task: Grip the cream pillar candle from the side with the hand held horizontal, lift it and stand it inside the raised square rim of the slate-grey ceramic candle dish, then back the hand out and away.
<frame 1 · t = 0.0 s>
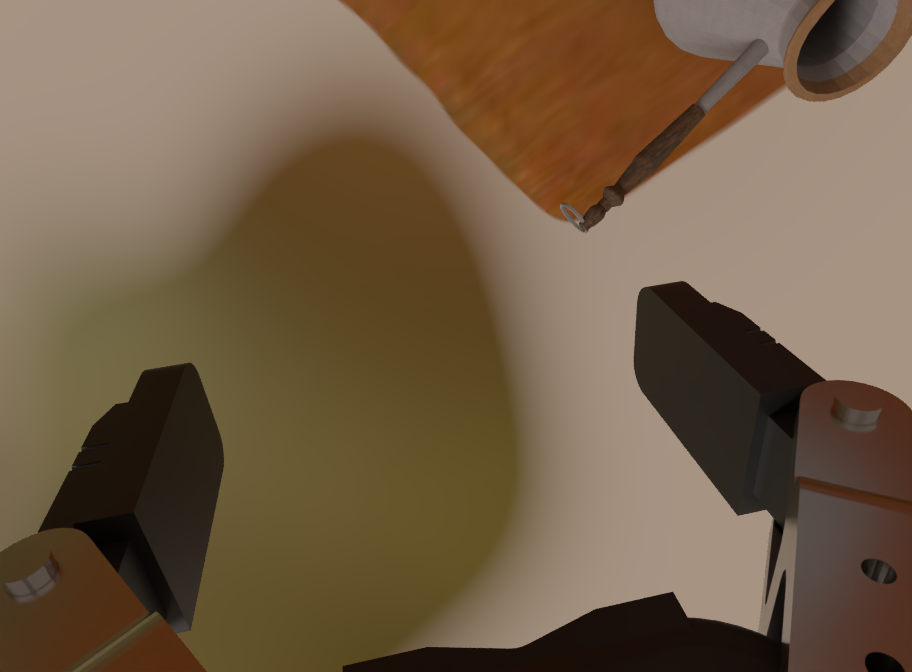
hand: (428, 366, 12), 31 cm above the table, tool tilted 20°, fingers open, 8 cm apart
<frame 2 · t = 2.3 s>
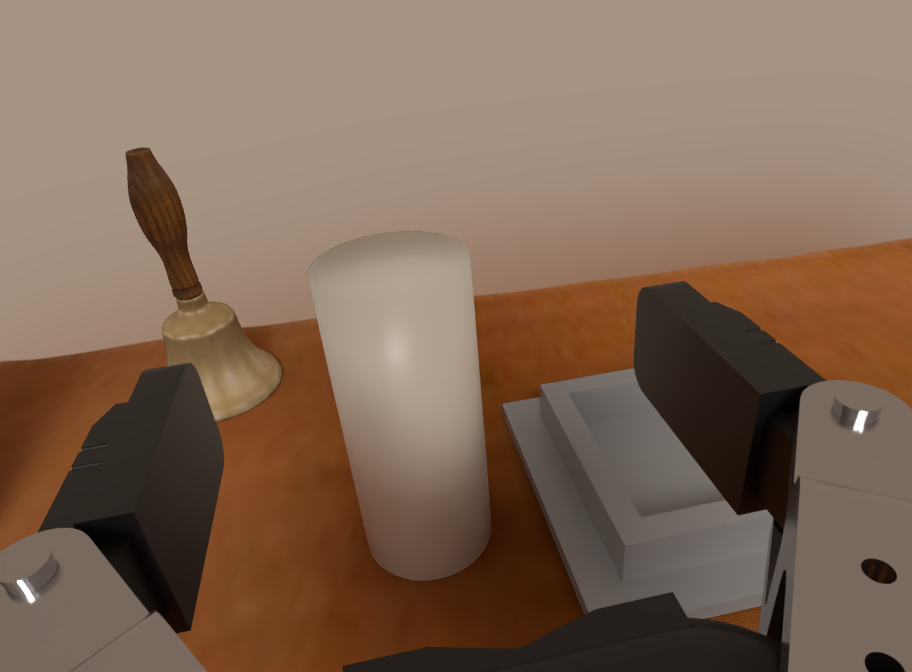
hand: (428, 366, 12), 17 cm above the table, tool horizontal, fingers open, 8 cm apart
hand bell: (221, 388, 43), on the table
candle: (429, 528, 30), on the table
candle dish: (683, 476, 32), on the table
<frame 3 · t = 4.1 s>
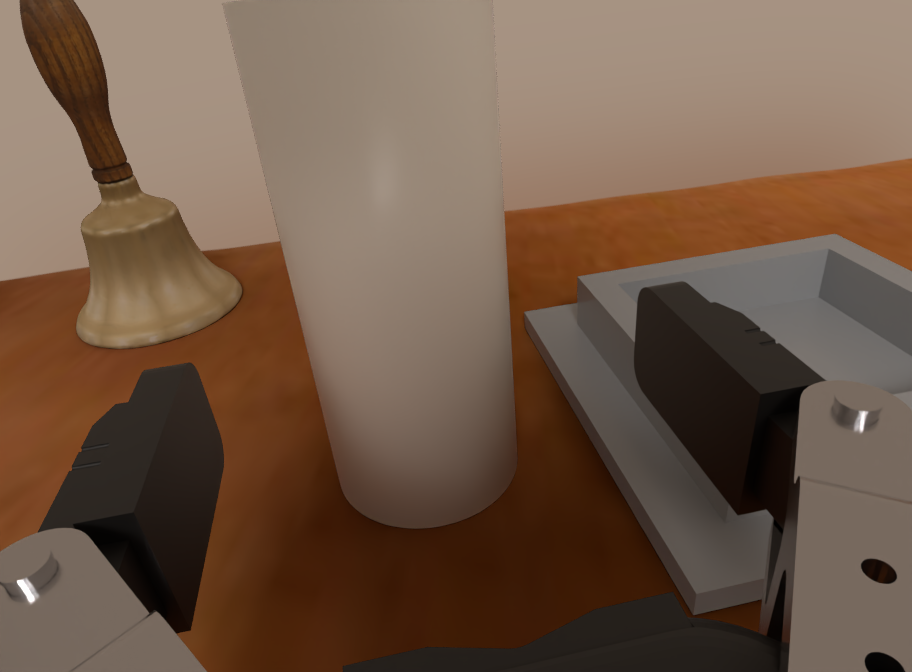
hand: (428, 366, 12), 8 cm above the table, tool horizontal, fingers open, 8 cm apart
hand bell: (164, 312, 34), on the table
candle: (428, 460, 21), on the table
candle dish: (783, 390, 23), on the table
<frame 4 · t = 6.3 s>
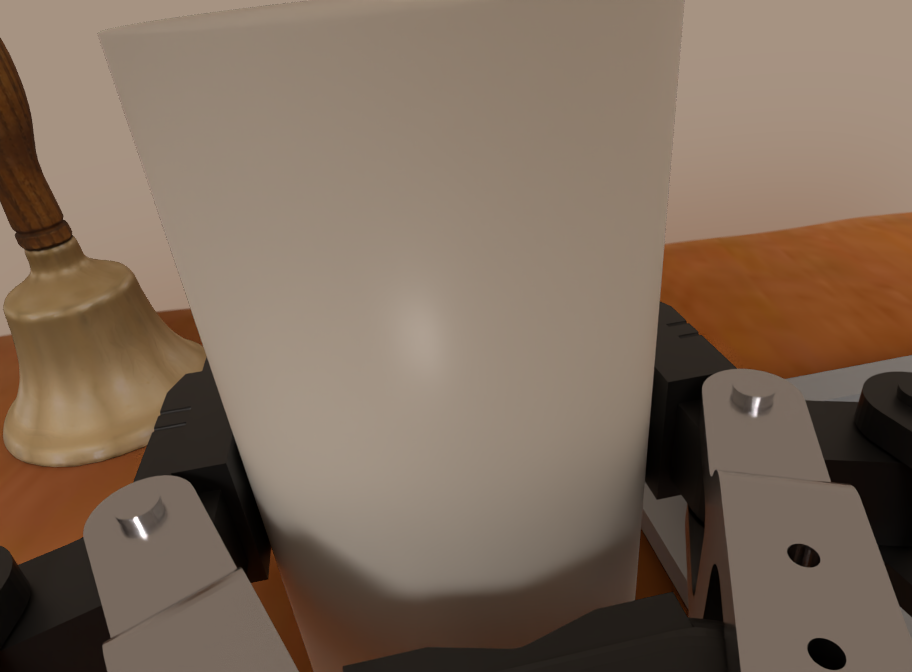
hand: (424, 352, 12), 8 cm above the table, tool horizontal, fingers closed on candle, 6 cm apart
hand bell: (121, 403, 26), on the table
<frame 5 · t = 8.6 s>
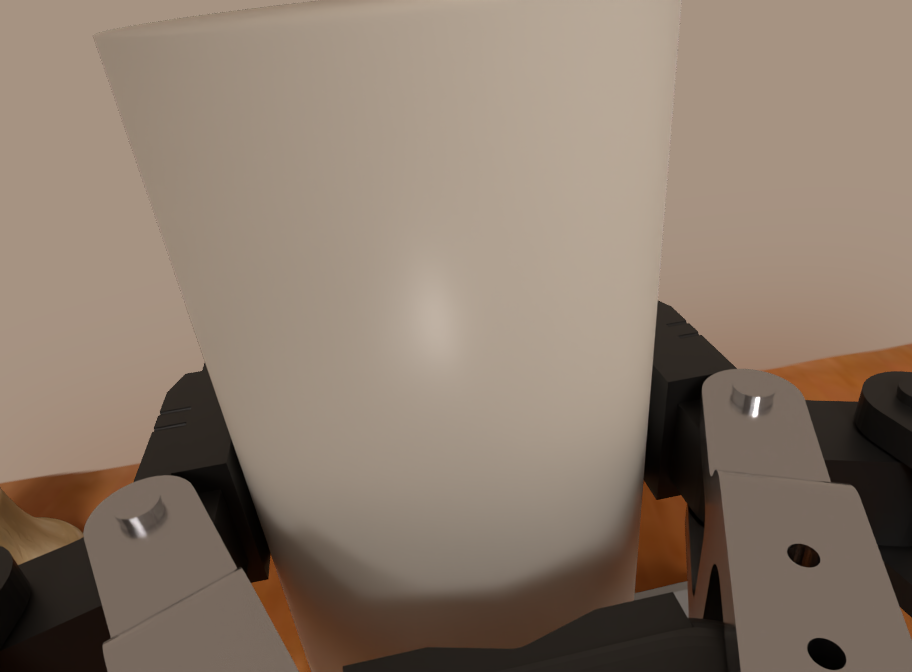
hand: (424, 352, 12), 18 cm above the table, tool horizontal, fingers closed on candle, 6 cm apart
when the fingers open (10 cm above the table, at t = 11.4 s): candle drops 1 cm, resting on candle dish.
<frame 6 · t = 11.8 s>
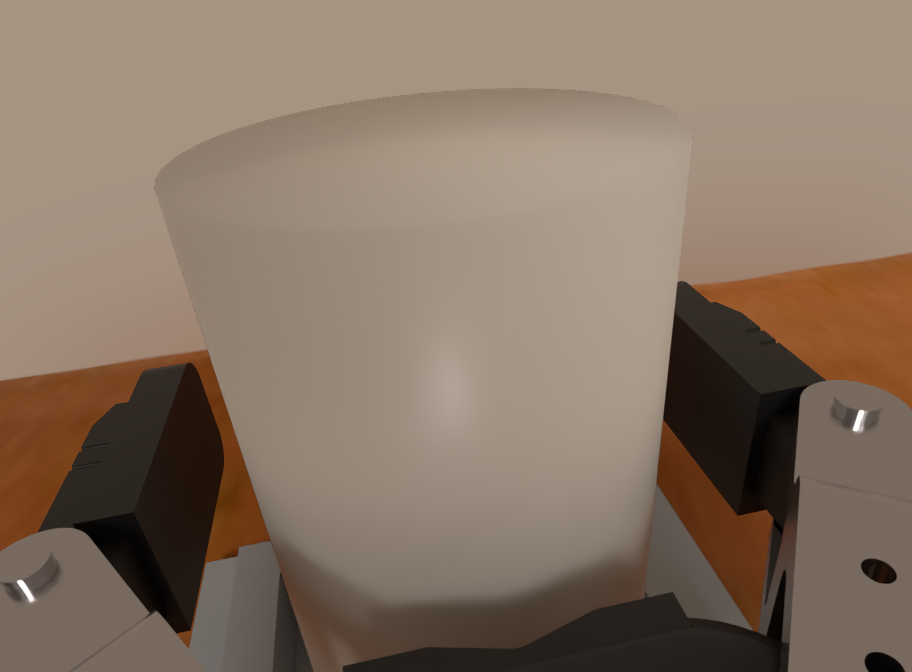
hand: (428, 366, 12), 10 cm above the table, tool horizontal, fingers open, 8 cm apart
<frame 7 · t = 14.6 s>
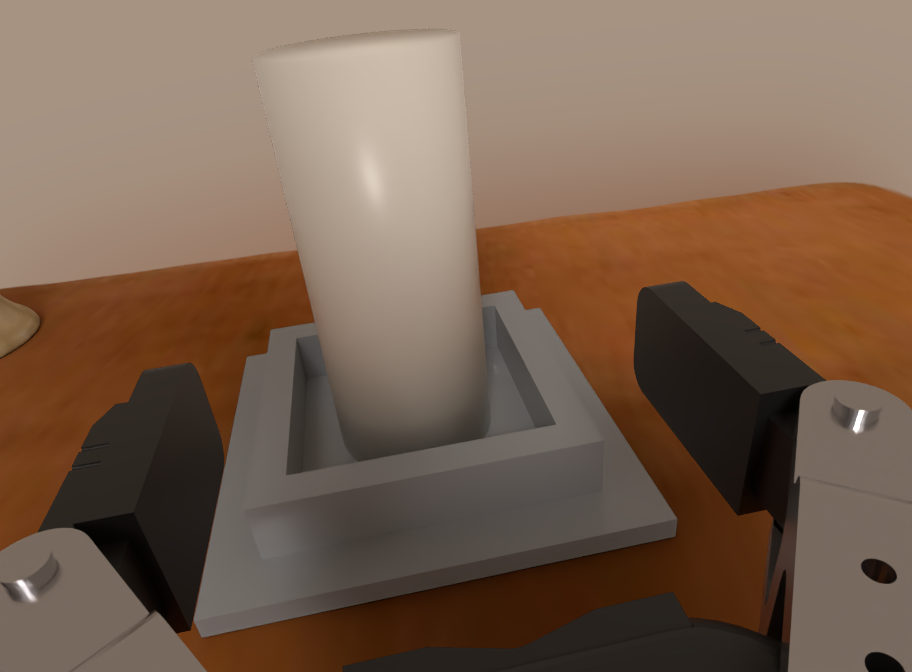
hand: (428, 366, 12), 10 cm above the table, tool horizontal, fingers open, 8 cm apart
candle: (416, 421, 26), point 1 cm above the table, touching candle dish
candle dish: (417, 435, 26), on the table
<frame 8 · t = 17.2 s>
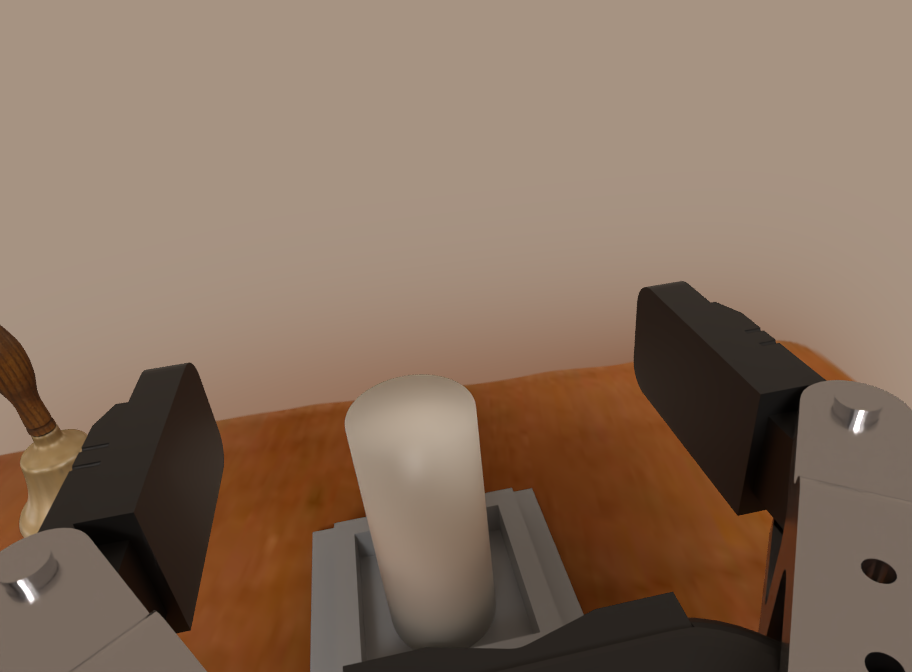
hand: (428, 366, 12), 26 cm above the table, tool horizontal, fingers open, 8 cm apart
hand bell: (84, 504, 48), on the table
candle: (443, 605, 36), point 1 cm above the table, touching candle dish
candle dish: (443, 612, 37), on the table
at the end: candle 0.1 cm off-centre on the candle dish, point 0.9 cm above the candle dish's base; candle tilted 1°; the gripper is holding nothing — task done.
